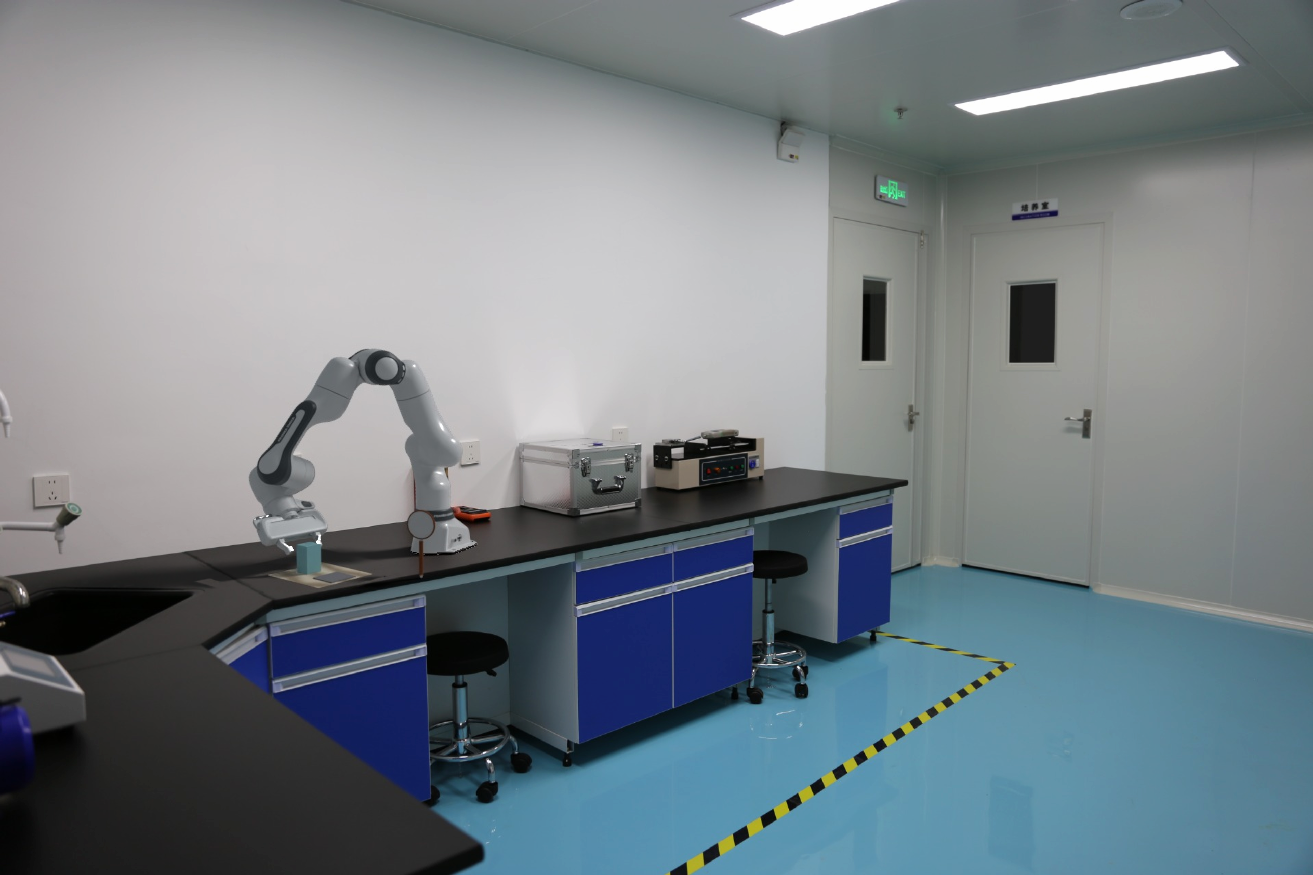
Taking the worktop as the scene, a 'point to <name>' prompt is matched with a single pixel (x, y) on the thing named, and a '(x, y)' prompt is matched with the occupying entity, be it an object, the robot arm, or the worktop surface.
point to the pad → (334, 577)
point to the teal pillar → (308, 558)
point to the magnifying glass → (421, 530)
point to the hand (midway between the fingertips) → (305, 550)
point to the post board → (325, 569)
